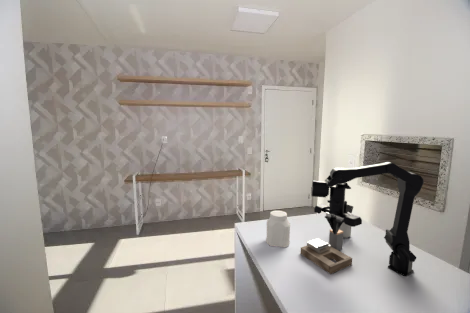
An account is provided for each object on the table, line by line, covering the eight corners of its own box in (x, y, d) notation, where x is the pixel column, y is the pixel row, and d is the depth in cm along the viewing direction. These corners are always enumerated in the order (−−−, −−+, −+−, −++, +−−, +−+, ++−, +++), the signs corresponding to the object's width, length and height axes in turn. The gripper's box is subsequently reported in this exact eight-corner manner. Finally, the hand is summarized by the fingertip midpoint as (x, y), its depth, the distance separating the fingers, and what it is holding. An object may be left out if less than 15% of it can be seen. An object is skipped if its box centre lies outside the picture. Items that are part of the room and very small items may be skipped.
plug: (342, 249, 102) (343, 231, 101) (336, 251, 100) (337, 233, 99) (334, 245, 105) (335, 227, 104) (328, 247, 103) (329, 229, 102)
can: (347, 232, 119) (348, 211, 118) (353, 238, 112) (354, 216, 110) (333, 231, 120) (334, 210, 118) (338, 238, 112) (339, 216, 111)
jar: (265, 246, 104) (266, 216, 102) (266, 236, 114) (267, 209, 112) (290, 248, 102) (291, 217, 100) (288, 238, 112) (289, 210, 110)
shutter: (330, 249, 95) (330, 243, 95) (319, 253, 92) (319, 247, 91) (317, 242, 101) (317, 236, 101) (306, 246, 98) (307, 240, 98)
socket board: (351, 264, 89) (352, 258, 89) (330, 274, 83) (330, 266, 83) (320, 246, 103) (320, 240, 103) (300, 253, 98) (300, 247, 97)
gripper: (371, 201, 86) (368, 238, 87) (330, 190, 102) (328, 222, 104) (354, 205, 80) (351, 245, 82) (314, 193, 97) (312, 227, 98)
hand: (335, 233), depth 92 cm, fingers closed
